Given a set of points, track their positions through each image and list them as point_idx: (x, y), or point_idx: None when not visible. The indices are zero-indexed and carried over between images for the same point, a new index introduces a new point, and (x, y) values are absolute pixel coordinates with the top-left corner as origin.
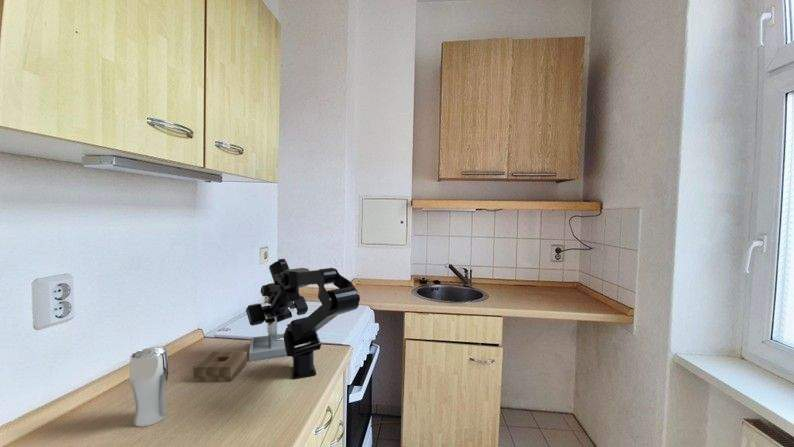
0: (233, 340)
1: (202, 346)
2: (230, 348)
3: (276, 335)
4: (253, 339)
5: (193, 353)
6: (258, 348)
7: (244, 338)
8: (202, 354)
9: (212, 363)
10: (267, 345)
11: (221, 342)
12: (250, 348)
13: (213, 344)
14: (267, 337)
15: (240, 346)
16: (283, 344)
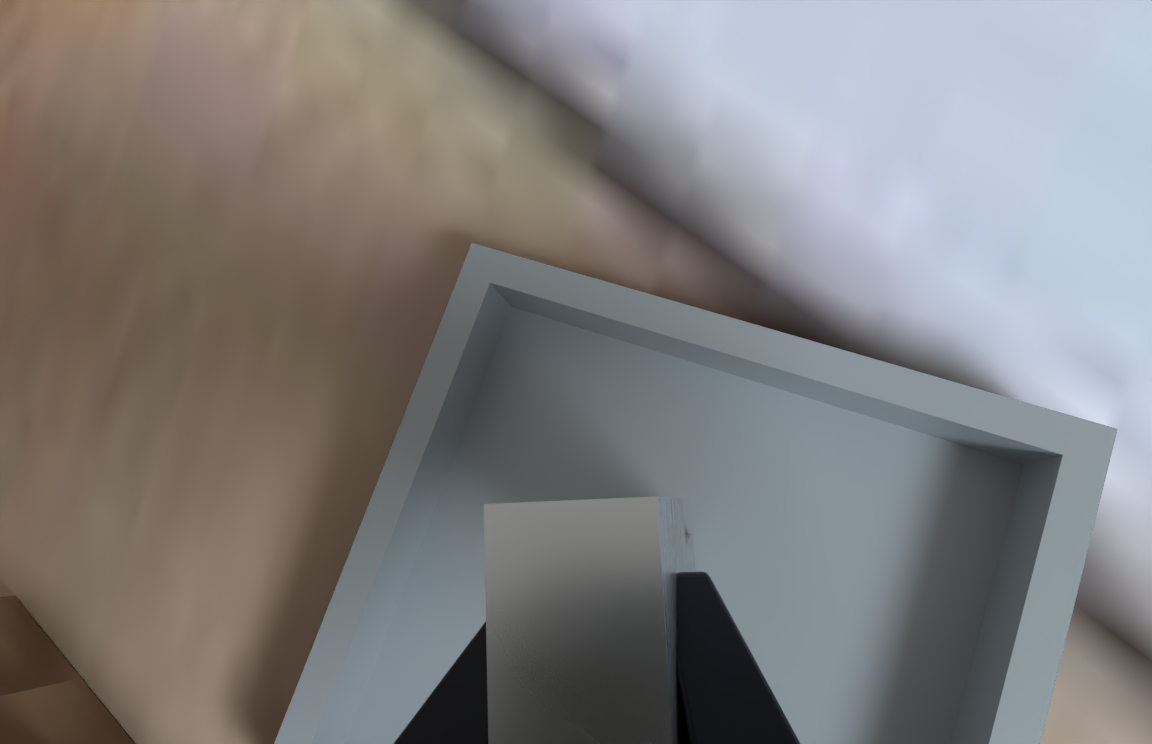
0: (388, 30)
1: (115, 32)
2: (285, 249)
3: (804, 376)
4: (466, 336)
5: (3, 167)
6: None
7: (502, 33)
8: (45, 243)
9: None
10: (625, 497)
11: (277, 22)
12: (314, 661)
13: (203, 35)
14: (670, 341)
15: (384, 256)
16: (831, 620)
